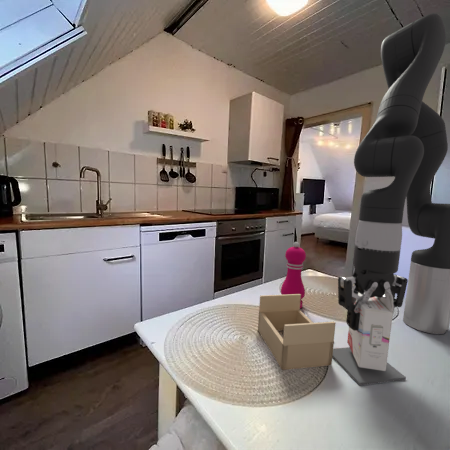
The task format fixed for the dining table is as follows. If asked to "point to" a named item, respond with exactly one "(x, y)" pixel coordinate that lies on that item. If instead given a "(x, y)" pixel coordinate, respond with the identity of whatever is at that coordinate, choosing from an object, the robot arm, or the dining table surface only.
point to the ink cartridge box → (372, 333)
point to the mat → (364, 369)
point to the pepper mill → (294, 272)
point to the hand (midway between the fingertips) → (367, 326)
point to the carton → (294, 333)
